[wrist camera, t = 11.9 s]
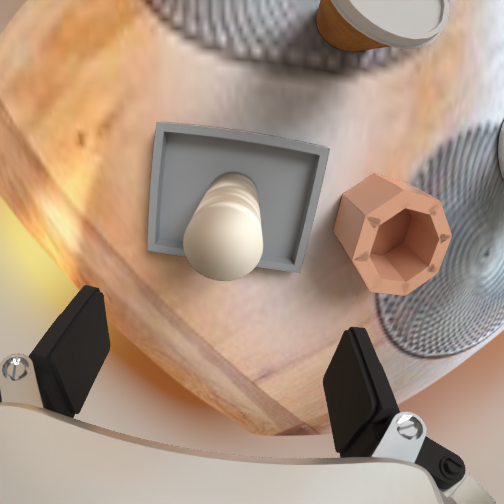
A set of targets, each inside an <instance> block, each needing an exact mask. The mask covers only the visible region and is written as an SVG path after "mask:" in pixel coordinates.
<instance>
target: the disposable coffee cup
mask: <svg viewBox="0 0 504 504" xmlns="http://www.w3.org/2000/svg"><path fill="white" fill-rule="evenodd" d="M448 12H449V5H448V0H321V1H320V5H319V9H318V12H317V15H316V24H317V27H318V30H319V32H320V34H321V35H322V37H323V38H324V39H325V40H326V41H327V42H328V43H329V44H331V45H332V46H334V47H336V48H337V49H340V50H343V51H348V52H357V51H362V50H368V49H375V48H382V47H389V46H392V47H395V48H403V49H414V48H420V47H423V46H425V45H428V44H430V43H431V42H433V41H434V40H435V39H437V37H438V36H439V34H440V33H441V31H442V29H443V27H444V26H445V24H446V22H447V19H448Z"/></svg>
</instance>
